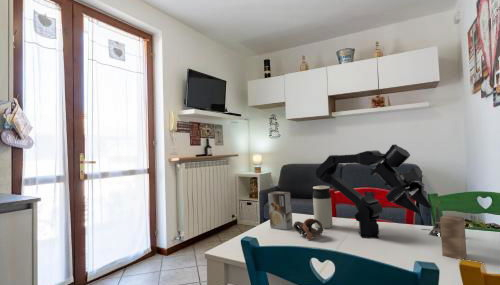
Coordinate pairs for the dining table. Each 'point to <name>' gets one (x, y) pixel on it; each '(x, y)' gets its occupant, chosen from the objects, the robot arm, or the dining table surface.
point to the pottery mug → (308, 228)
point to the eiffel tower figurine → (437, 225)
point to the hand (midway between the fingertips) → (425, 210)
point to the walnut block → (453, 237)
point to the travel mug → (322, 206)
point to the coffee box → (280, 210)
